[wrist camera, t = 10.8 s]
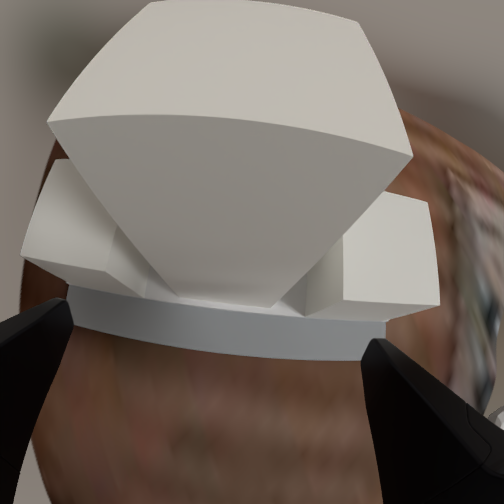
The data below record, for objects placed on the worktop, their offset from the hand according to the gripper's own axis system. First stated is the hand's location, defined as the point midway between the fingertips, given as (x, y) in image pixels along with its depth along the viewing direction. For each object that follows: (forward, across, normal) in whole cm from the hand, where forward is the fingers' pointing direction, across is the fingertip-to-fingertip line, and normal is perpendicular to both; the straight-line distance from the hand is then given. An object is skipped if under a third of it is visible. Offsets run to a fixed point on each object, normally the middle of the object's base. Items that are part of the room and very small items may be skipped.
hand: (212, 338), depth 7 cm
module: (+8, 0, +2) cm, 9 cm away
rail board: (+9, 0, +3) cm, 10 cm away
